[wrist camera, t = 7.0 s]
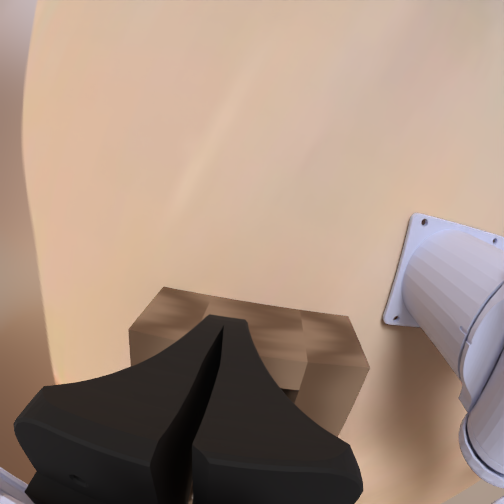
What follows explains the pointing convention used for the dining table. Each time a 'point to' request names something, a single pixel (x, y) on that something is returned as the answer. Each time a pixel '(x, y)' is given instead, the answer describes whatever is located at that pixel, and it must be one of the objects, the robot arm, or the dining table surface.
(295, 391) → the housing
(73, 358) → the dining table surface
